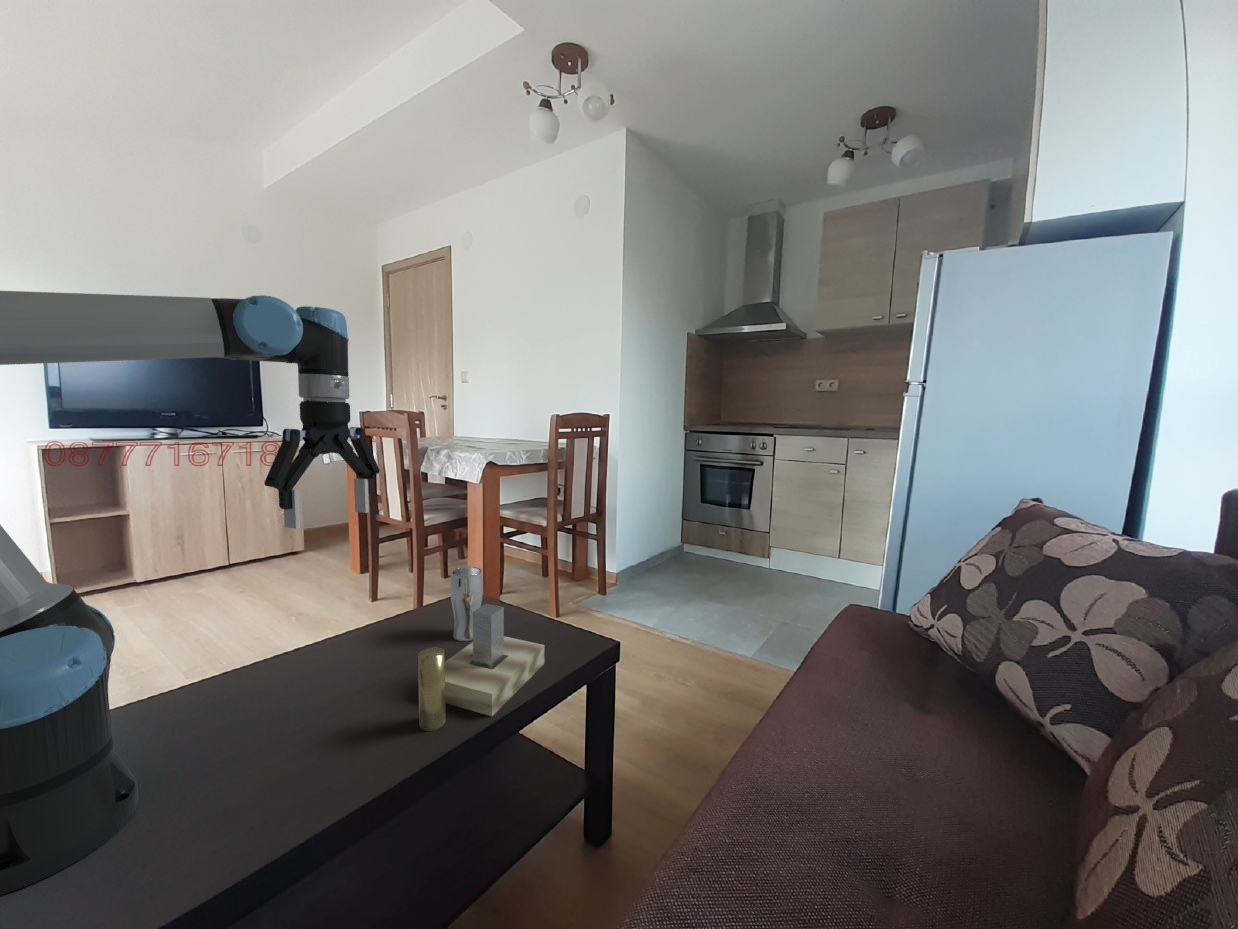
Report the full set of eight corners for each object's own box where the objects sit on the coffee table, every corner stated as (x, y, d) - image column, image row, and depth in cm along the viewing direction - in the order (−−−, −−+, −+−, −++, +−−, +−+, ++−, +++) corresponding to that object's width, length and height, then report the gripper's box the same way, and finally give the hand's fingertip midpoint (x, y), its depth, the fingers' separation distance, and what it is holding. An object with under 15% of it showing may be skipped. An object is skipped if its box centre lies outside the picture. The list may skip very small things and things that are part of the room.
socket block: (492, 716, 79) (492, 694, 79) (425, 697, 84) (424, 676, 83) (544, 663, 96) (544, 645, 95) (486, 650, 101) (486, 632, 100)
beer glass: (449, 631, 109) (448, 568, 107) (480, 626, 112) (480, 564, 110) (452, 644, 102) (451, 578, 101) (485, 639, 105) (485, 574, 104)
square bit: (491, 687, 87) (491, 615, 86) (473, 682, 89) (472, 611, 87) (503, 676, 91) (503, 607, 89) (486, 672, 92) (486, 603, 91)
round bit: (433, 733, 74) (432, 662, 73) (413, 727, 76) (412, 657, 74) (450, 718, 78) (450, 650, 77) (431, 712, 80) (430, 645, 78)
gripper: (265, 398, 69) (273, 538, 72) (397, 402, 93) (399, 508, 95) (231, 397, 72) (240, 532, 74) (368, 401, 95) (371, 504, 98)
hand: (329, 519), depth 85 cm, fingers open, 13 cm apart
